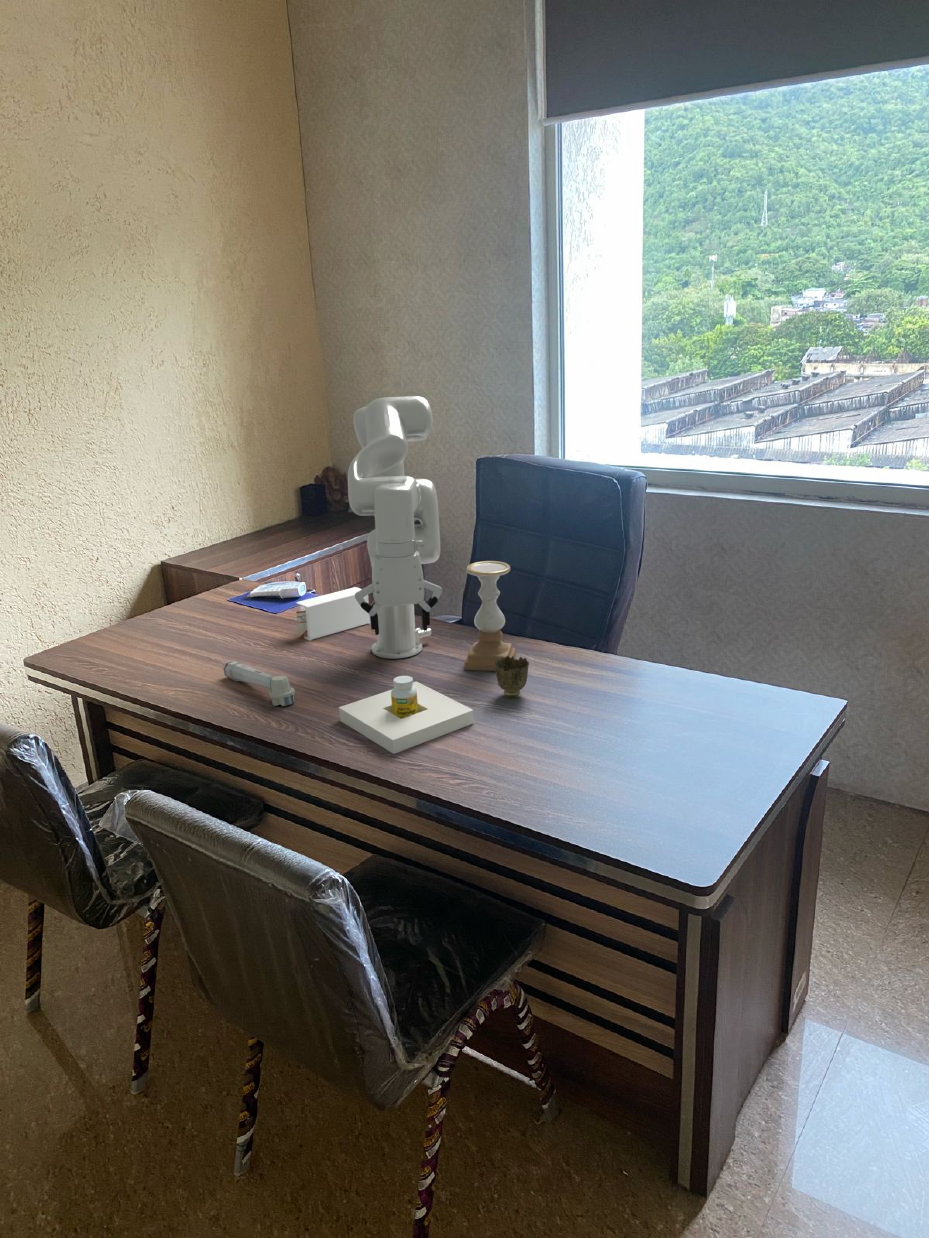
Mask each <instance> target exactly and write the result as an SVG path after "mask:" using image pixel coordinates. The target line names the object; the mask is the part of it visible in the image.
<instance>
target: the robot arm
mask: <svg viewBox="0 0 929 1238" xmlns="http://www.w3.org/2000/svg"><path fill="white" fill-rule="evenodd" d="M433 417H434V416H433V412H432V408H431V405H430V402H429V401H428V399H426V398H425V397H422V396H418V395H412V396H411V395H410V396H409V395H408V396H388V397H385V396H384V397H379V398H375V399H374V400H372V401H371V402H370V403H368V405H367V406H363V407H360V408H358V409H356V411H354V414H353V419H352V422H353V428H354V432H355V435H356V438H357V441H358V444H359V445H360V447H361V450H359V452H358V453H357V454H356V455H355V456H354V458H352V461H351V462H350V463H349V467H348V471H347V498H348V503H349V507H350V509H351V511H352V513H354V514H356V515H357V516H361V517H362V516H363V517H364V516H365V517H366V516H374V528H375V529H372V530H371V531H370V532H369V534H368V536H367V540H366V542H367V543H366V546H367V551H368V556H369V560H370V567H371V583H370V584H369V585H367V586H365V587H363V588H361V589H362V590H360V591H358V592H357V593H355V598H356V600H357V602H358V603H359V604H360V606H361V608H362V609H363V610H365V611H366V612H367V613H368V614H369V615H370V626H371V627H370V628H371V629H370V630H371V631H374V633H375V636H376V637H377V641H376V642H374V643H373V644H372V645H371V652H372V654H373V655H375V656H377V657H379V658H383V659H391V660H392V659H394V660H395V659H397V660H398V659H405V658H409V657H413V656H415V655H418V654H419V653H420V652H421V651H422V650H423V643H422V641H420V640H422V638H425V637H429V636H432V629H431V628H430V627H428V626H430V625H431V618H430V617H431V616H430V614H431V613H430V612H431V611H432V608H433V607H434V606H435V605H436V604H437V603H438V602H439V599H440V597H441V595H442V593H443V588H442V587H441V586H440V585H437V584H435V583H433V582H430V581H428V580H426V579H424V572H423V566H422V565H425V564H432V563H435V562H437V561H438V560H439V558H440V555H441V533H440V532H441V531H440V518H439V503H438V495H437V490H436V485H435V484H434V483H433V482H432V481H431V480H429V479H427V478H414V477H413V476H410V475H405V467H404V465H405V461H404V460H405V459H406V457H407V455H408V454H409V453H408V451H409V445H408V442H421V441H425V440H427V438H428V437H429V435H430V434H431V431H432V428H433V424H434V422H433V421H434V420H433V419H434V418H433ZM415 520H417V521H419V522H420V524H415ZM426 589H427V590H429V591H431V592H433V593H432V595H431V596H430V597H429V598H428V600H427V599H426V598H425V596H426V593H425V592H426V591H425V590H426ZM370 594H372V598H373V601H372V603H371V604H370V603H369V604H368V603H367V602H366V601H365V600H364V597H365V596H366V595H368V596H369V595H370ZM417 604H418V605H419V606H420V608H421V609H420V611H421V612H420V613H421V627H422V629H421V627H416V621H415V619H416V617H415V605H417Z"/></svg>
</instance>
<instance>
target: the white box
mask: <svg viewBox="0 0 929 1238" xmlns="http://www.w3.org/2000/svg"><path fill="white" fill-rule="evenodd" d="M362 589H363V588H360V587H357V586H354V587H351V588H347V589H342V590H339V591H335V592H331V593H327V594H322V595H320V596H315V597H311V598H308V599H303V600H300V601H296V602H295V605H298V606H299V607H302V608H304V609H305V610H302V611H296V613H295V614H296V623H297V634H298V638H300V639H301V638H304V639H305V640H307V641H310V642H311V641H312V640H316V639H319V638H323V637H326V636H331V635H332V634H336V633H340V632H343V631H344V632H345V631H347V630H350V629H354V628H357V627H361V626H365V625H371V618H370V615H369V614H368V613H367V612H366V611H365V610H363V609H362V608H361V606H360V604H359V603H358V602H357V600H356V598H355V593H357V592H358V591H360V590H362ZM364 600H365V601H366V602H367V603H368V604H369V605H370V603H369V602H370V601H369V594H368V595H366V596H365V597H364Z"/></svg>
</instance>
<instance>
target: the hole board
mask: <svg viewBox="0 0 929 1238" xmlns="http://www.w3.org/2000/svg"><path fill="white" fill-rule="evenodd" d="M413 686H414V687H415V688H416V690H417V701H418V713H416V714H414V715H411V716H408V717H405V718H402V719H401V718H399V717H397V716H395V715H394V714H392V701H391V691H392V689H389V690H386V691H384V692H381V693H378V694H375V695H372V696H368V697H366V698H363V699H359V700H356V701H354V702H351V703H348V704H345V705H341V706H338V717H339V721H340V722H341V723H343V724H344V725H346V726H348V727H349V728H351V729H353V730H354V731H356V732H357V733H359V734H361V735H363V736H364V737H366V738H367V739H368V740H371V741H372V742H374V743H376V744H377V745H379V746H380V747H382V748H384V749H385V750H386V751H388V752H389V753H392V754H393V755H395V754H398V753H400V752H404V751H405V750H408V749H410V748H413V747H415V746H418V745H421V744H423V743H426V742H429V741H432V740H434V739H436V738H439V737H441V736H444V735H446V734H450V733H453V732H454V731H458V730H460V729H463V728H465V727H468V726H470V725H473V724H474V723H475V718H474V709H473V708H470V707H468V706H467V705H465V704H462V703H460V702H458V701H457V700H455V699H453V698H450V697H449V696H446V695H444V694H442V693H440V692H438V691H437V690H435V689H433V688H430V687H428V686H426V685H425V684H422V683H420V682H419V681H417V680H416V681H413Z"/></svg>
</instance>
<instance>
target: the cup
mask: <svg viewBox="0 0 929 1238" xmlns="http://www.w3.org/2000/svg"><path fill="white" fill-rule="evenodd" d="M494 664H495V670H496V671H495V674H496V680H497V684H498V686H499V687H500V688H501V690H503V695H504V696H506V697H507V698H511V699H514V698H518V697H519V696H520V695H521V690H523V688H524V687H525V686H526V684H527V681H528V674H529V667H530V666H529V665H530V664H529V660H528V659H527V658H526V657H525V658H523V657H522V656H520V657H519V658H518V659H516V658H515V659H514V657H513V656H512V657H511V658H510V657H509V656H506V657H505V659H503V658H502V657H501V659H500V661H499V660H498V659H497V661H496V660H495V663H494Z"/></svg>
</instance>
